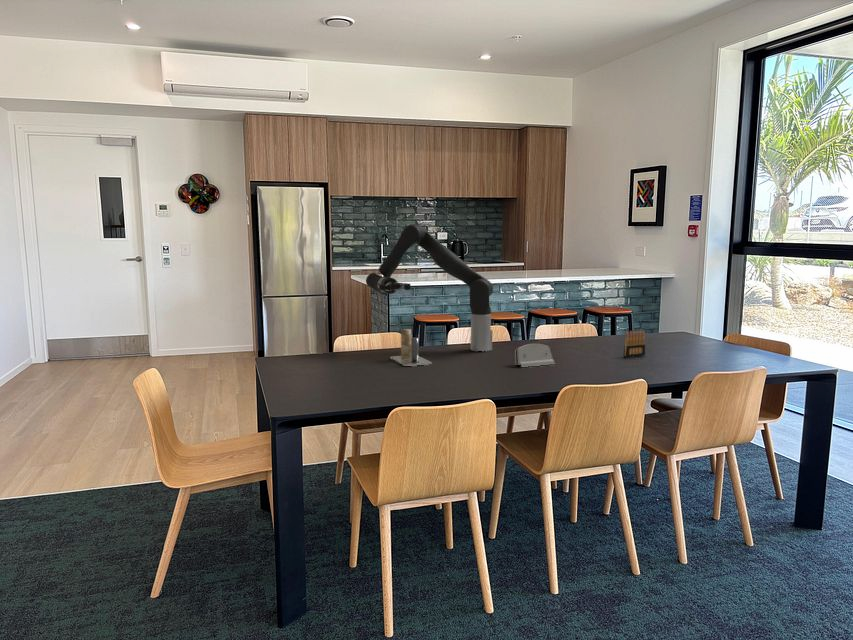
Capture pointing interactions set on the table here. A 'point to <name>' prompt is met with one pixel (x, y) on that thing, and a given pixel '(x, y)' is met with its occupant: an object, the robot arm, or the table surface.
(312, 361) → the table surface
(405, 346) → the oak post
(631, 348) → the ammunition clip
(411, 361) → the bolt plate
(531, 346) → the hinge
